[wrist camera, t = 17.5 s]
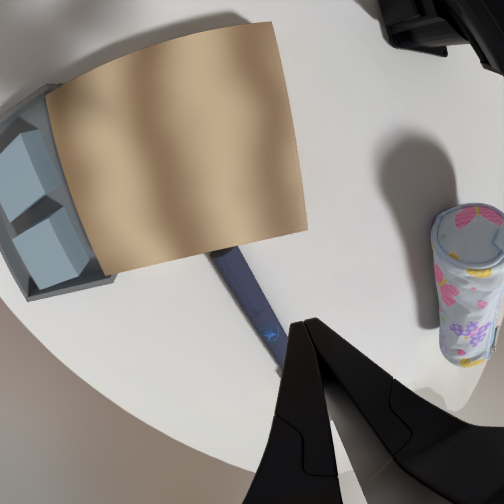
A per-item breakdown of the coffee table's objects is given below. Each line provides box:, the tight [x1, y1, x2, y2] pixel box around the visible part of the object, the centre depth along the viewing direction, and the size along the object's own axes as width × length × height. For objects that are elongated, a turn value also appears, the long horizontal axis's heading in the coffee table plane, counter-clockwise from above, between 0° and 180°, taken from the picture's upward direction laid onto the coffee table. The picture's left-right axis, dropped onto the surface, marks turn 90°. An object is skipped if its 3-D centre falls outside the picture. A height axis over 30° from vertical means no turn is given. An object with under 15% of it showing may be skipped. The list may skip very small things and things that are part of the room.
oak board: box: [45, 21, 308, 276], centre depth 16 cm, size 15×14×2 cm
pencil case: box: [431, 203, 504, 367], centre depth 22 cm, size 21×9×10 cm, turn 32°
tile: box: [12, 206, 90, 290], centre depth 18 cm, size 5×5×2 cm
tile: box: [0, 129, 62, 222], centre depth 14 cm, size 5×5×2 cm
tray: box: [0, 83, 118, 302], centre depth 16 cm, size 11×16×2 cm
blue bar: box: [210, 246, 332, 421], centre depth 28 cm, size 34×2×12 cm
